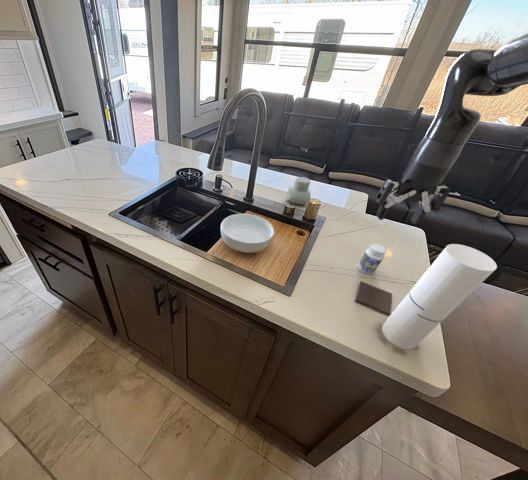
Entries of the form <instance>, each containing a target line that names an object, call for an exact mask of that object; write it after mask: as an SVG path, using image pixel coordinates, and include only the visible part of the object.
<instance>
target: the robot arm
mask: <svg viewBox="0 0 528 480" xmlns="http://www.w3.org/2000/svg"><path fill="white" fill-rule="evenodd" d="M525 85H528V33H525V34H523V35H521V36H519V37H516V38H515V39H513V40H511V41H509V42H508V43H506V44H504V45H503V46H501V47H500V48H499V49H489V48H488V49H487V48H474V49H470V50H467V51H466V52H464V53H463V54H461V55H460V56H459V57H458V58H456V60H455V61H454V62H453V63H452V65H451V66H450V68H449V69H448V72H447V74H446V77H445V81H444V84H443V89H442V94H441V99H440V102H439V106H438V109H437V112H436V115H435V117H434V119H433V121H432V123H431V124H430V127H429V128H428V130H427V132H426V134H425V136H424V137H423V139H422V140H421V142H420V143H419V144H418V146H417V148H415V151H414V153H413V155H412V156H411V159H410V161H409V162H408V165H407V166H406V168H405V170H404V172H403V173H402V177H401V179H400V180H399V181H393V180H391V179H389V178H387V179H385V180H384V182H383V184H382V186H381V187H380V189H379V191H378V192H377V194H376V196H375V197H374V200H375V202H376V203H377V205H379V207H378V209H377V211H376V213H375V215H376V218H377V219H378V220H380V221H383V220H384V219H385V217H386V215H387V213H388V212H389V210H390V208H391V207H392V206H394V205H395V204H399V203H401V202H412V203H418V205H419V207H417V208H416V210H415V211H414V213H413V214H412V216H411V217H410V222H411V223H412V224H414V225H418V224H419V223H420V222H422V221H423V219H424V218H425V216H426V215H427V213H429V212H432V211H434V212H438V211H439V210H440V209H441V208H442V206H443V204H444V203H445V201H446V199H447V198H448V196H449V195H450V193H451V188H449V187H448V186H446V185H445V184H442V182H443V181H444V179H445V178H446V176H447V175H448V174H449V171H450V170H451V169H452V167H453V166H454V164H455V162H456V161H457V159H458V158H459V156H460V155H461V153H462V150H463V148H464V147H465V145H466V143H467V141H468V140H469V139H470V137H471V136H472V134H473V132H474V130H475V129H476V127H477V126H478V124H479V123H480V122H481V121H480V120H481V118H482V114H481V113H480V112H479V111H477V110H475V109H472V108H469V107H465V106H464V98H465V95H468V96H479V97H480V96H481V97H499V96H503V95H507V94H509V93H510V92H512V91H514V90H516V89H518V88H520V87H521V86H525ZM433 194H434V195H433ZM431 195H433V196H432V197H431V199H429V197H430V196H431Z"/></svg>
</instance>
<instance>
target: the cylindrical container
mask: <svg viewBox="0 0 528 480" xmlns="http://www.w3.org/2000/svg"><path fill="white" fill-rule="evenodd" d="M497 268H498V265H497V263H496V261H494V259H493V258H492V257H490V256H489V255H487V254H486V253H484V252H482V251H480V250H479V249H476V248H474V247H471V246H467V245H464V244H459V243H450V244H447V245H446V246H445V247H444V249H442V251H441V252H440V254H438V256H437V257H436V258H435V260H433V262H432V263H431V264H430V265H429V267H428V268H427V269H426V271H425V272H424V273H423V274H422V276H421V277H420V278H419V279H418V281H417V282H416V283H415V285H413V287H411V290H409V292H408V293H407V294H406V295H405V297H404V298H403V299H402V301H401V302H400V303H399V304H398V305H397V306H396V308H395V309H394V310H393V312H392V313H390V315H389V316H388V318H387V319H386V320H385V322H384V323H383V324H382V326H381V331H382V334H383V336H384V337H385V339H387V341H388V342H390V344H392V345H394V346H395V347H398V348H399V349H402V350H413V349H415V348H416V347H417V346H418V345H419V344H420V343H421V342H422V341H423V340H424V339H425V338H426V337H427V336H428V335H429V334H430V333H431V332H433V330H434V329H436V328H437V327H438V326H439V325H440V324H441V323H442V322H443V321H444V320H445V319H446V318H447V317H448V316H449V315H450V314H451V313H452V312H453V311H455V309H456V308H457V307H458V306H459V305H461V303H463V302H464V301H465V300H466V299H467V298H468V297H469V296H470V295H471V294H472V293H473V292H474V291H475V290H476V289H477V288H478V287H479V286H480V285H481V284H483V282H484V281H485V280H487V278H489V277H490V275H492V274H493V273H494V272H495V271H496V270H497Z"/></svg>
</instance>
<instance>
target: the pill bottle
mask: <svg viewBox="0 0 528 480" xmlns="http://www.w3.org/2000/svg"><path fill="white" fill-rule="evenodd" d="M386 252H387V249H386V247H384V246H382V245H381V244H378V243H372V244H370V246H369V248H367V249H366V250H365V251H364V253H363V256H362V257H361V259H360V261H359V262H358V264H357V268H358V269H359V271H361V272H362V273H364V274H366V275H373V274H375V272H376V271H377V269H378V268H379V266H380V265H381V263H382V261H383V260H384V258H385V257H384V256H385V254H386Z"/></svg>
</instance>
